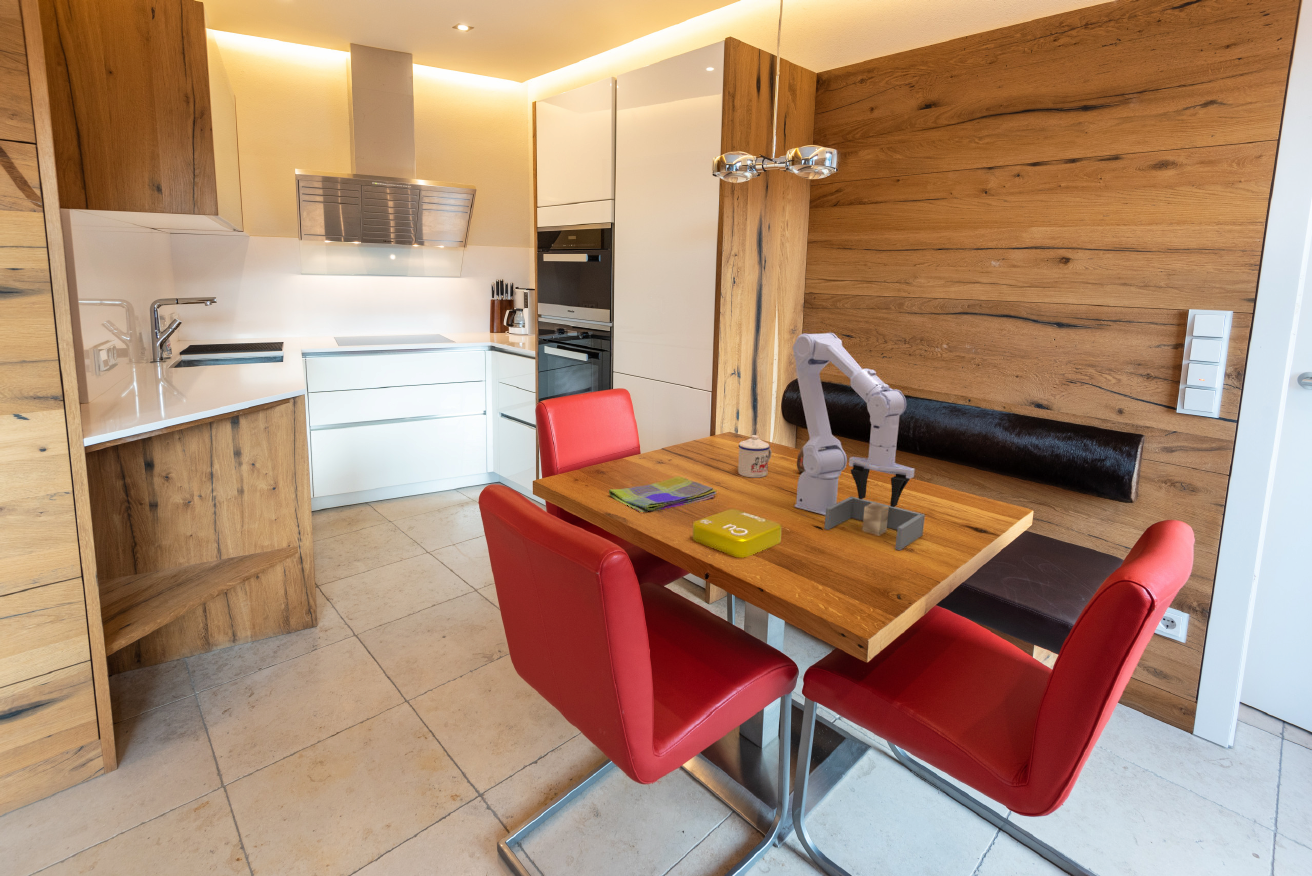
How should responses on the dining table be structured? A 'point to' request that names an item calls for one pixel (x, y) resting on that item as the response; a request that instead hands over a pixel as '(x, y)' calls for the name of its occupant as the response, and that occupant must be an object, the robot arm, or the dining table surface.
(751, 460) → the teacup with lid
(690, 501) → the dish towel
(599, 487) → the dining table surface
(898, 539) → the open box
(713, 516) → the element tile
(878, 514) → the birch block
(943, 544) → the dining table surface
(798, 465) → the tin
